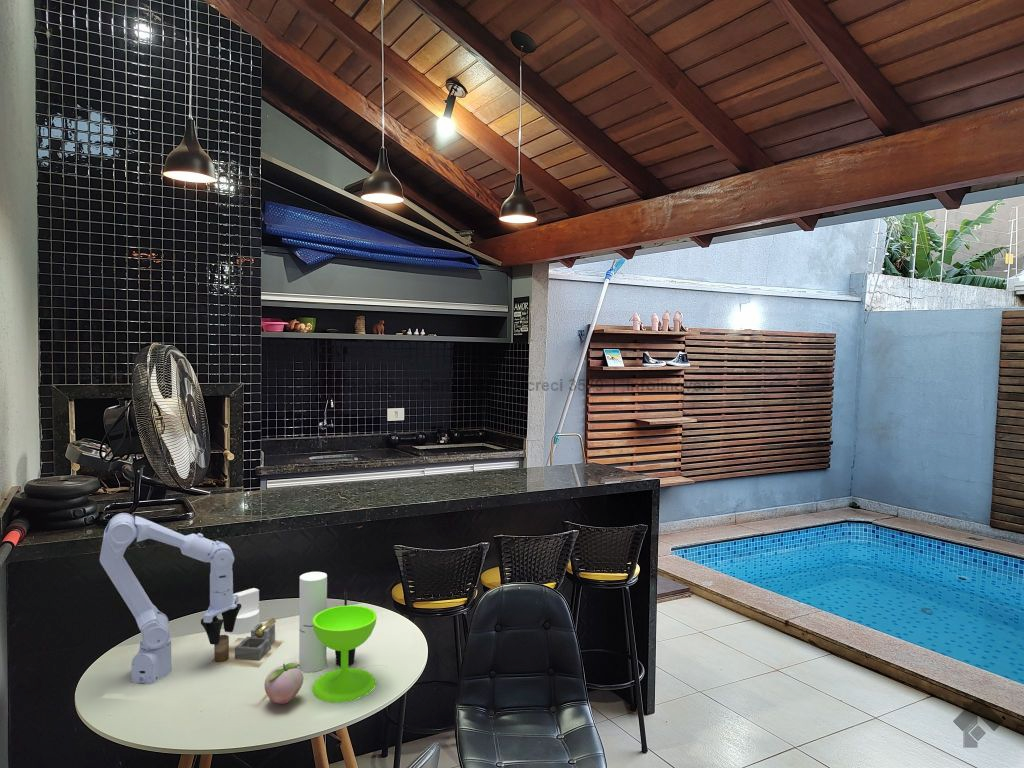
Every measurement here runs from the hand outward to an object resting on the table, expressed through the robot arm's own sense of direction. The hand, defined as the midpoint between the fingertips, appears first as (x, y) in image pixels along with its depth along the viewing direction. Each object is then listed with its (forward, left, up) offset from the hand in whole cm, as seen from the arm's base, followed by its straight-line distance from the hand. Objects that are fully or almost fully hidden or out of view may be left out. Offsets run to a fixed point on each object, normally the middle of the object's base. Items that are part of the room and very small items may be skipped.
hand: (221, 637), depth 180 cm
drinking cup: (+5, -33, -7) cm, 34 cm away
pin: (+12, -7, -3) cm, 14 cm away
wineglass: (-7, -37, -8) cm, 38 cm away
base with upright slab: (+20, +4, -8) cm, 22 cm away
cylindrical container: (+2, -25, -8) cm, 26 cm away
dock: (+5, -5, -7) cm, 10 cm away
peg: (0, 0, -6) cm, 6 cm away
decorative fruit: (-17, -25, -8) cm, 31 cm away
